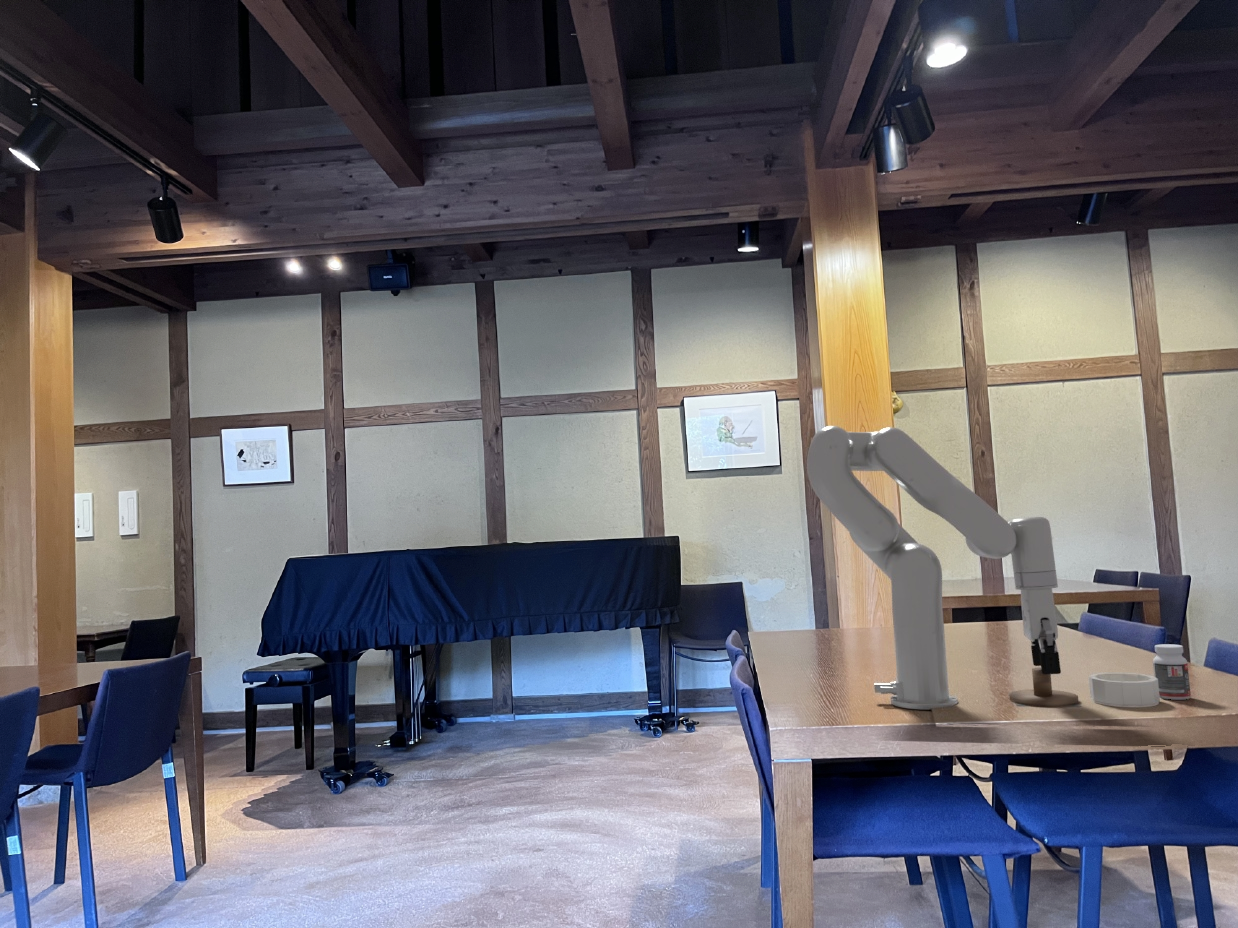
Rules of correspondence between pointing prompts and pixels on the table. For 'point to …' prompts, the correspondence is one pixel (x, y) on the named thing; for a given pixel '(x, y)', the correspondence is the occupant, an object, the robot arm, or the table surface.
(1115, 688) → the bowl
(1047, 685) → the lid
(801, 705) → the table surface
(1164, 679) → the pill bottle
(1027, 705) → the mat
